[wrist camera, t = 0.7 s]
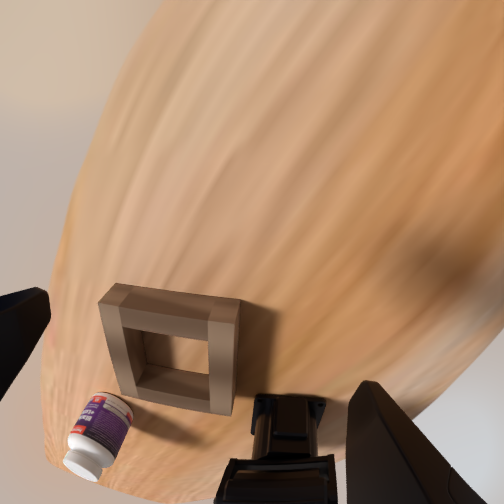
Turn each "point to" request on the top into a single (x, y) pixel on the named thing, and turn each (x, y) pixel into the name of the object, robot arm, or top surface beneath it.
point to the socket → (175, 324)
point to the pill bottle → (98, 436)
